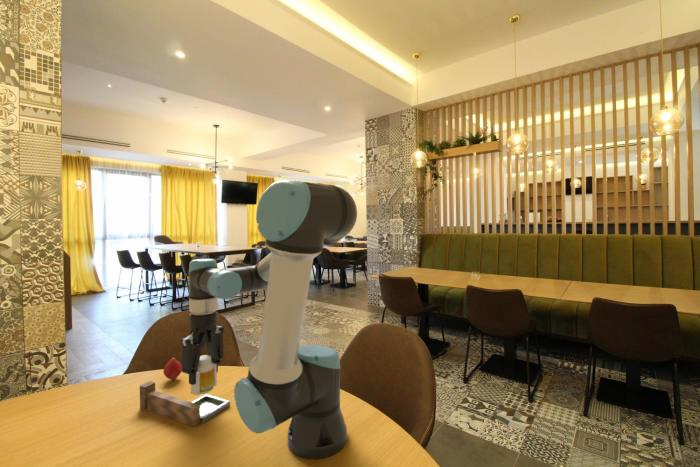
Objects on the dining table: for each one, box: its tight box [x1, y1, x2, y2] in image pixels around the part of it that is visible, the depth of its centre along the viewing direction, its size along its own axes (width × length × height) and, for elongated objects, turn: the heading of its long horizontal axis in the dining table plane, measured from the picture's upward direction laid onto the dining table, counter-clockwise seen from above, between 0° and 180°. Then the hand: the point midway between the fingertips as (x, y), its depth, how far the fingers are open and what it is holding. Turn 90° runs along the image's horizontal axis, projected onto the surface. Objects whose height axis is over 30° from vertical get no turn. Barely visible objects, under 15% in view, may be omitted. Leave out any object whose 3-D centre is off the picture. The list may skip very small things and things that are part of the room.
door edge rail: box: [139, 380, 201, 428], centre depth 94 cm, size 22×3×7 cm, turn 65°
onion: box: [163, 357, 183, 381], centre depth 116 cm, size 6×6×8 cm
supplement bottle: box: [197, 354, 215, 395], centre depth 97 cm, size 5×5×10 cm
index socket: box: [191, 393, 231, 425], centre depth 97 cm, size 10×10×2 cm
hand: (204, 389), depth 97 cm, fingers closed on supplement bottle, 5 cm apart
